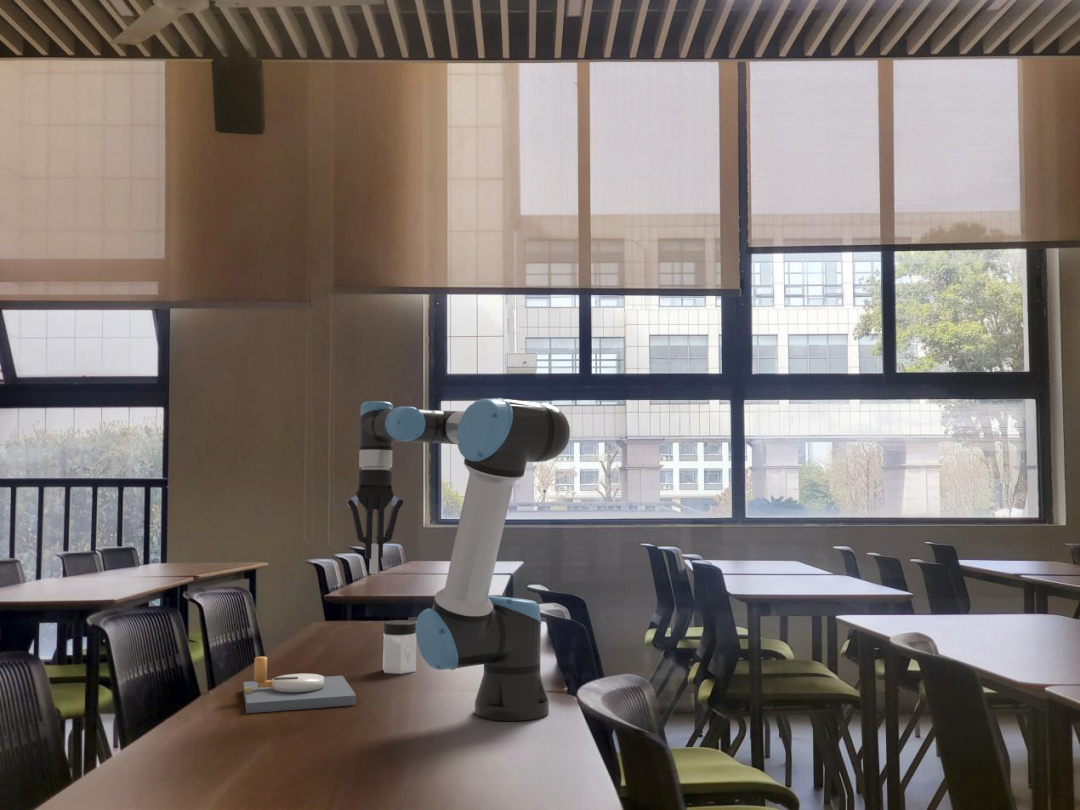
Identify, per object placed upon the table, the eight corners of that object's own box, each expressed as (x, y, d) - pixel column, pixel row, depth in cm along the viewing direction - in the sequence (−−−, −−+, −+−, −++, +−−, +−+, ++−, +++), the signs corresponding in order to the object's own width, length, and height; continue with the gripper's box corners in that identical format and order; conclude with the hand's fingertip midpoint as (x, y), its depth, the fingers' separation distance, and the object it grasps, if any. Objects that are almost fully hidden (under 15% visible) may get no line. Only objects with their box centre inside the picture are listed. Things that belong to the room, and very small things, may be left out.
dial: (325, 681, 205) (326, 651, 205) (322, 691, 194) (323, 660, 195) (257, 683, 202) (258, 653, 203) (250, 693, 192) (251, 662, 192)
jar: (393, 675, 223) (394, 625, 224) (375, 670, 229) (376, 622, 230) (423, 670, 229) (424, 622, 230) (404, 666, 235) (405, 618, 236)
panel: (356, 705, 192) (356, 691, 192) (246, 713, 184) (246, 699, 185) (342, 684, 212) (342, 672, 213) (243, 690, 205) (243, 678, 205)
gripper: (400, 469, 214) (398, 571, 212) (344, 469, 210) (342, 572, 207) (407, 469, 207) (405, 574, 205) (349, 468, 203) (346, 575, 200)
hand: (373, 573), depth 206 cm, fingers closed
